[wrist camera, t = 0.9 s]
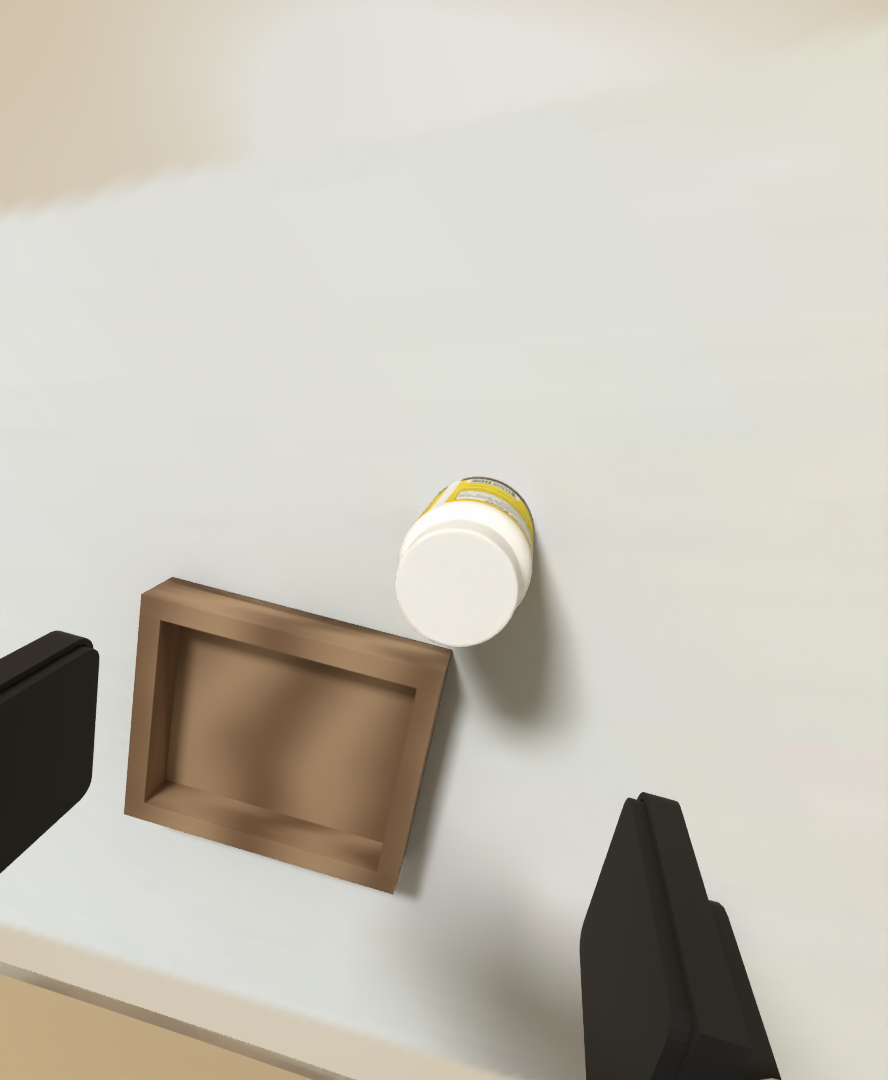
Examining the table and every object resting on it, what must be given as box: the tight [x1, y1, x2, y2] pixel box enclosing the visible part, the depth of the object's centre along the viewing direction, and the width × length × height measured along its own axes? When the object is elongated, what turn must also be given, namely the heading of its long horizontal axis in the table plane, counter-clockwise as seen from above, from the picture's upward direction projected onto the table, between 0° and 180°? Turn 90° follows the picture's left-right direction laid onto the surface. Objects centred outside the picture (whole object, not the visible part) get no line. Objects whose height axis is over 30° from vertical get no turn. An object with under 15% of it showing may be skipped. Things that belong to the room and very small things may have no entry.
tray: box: [124, 577, 452, 894], centre depth 31 cm, size 14×12×2 cm
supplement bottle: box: [395, 476, 534, 647], centre depth 25 cm, size 5×5×8 cm
